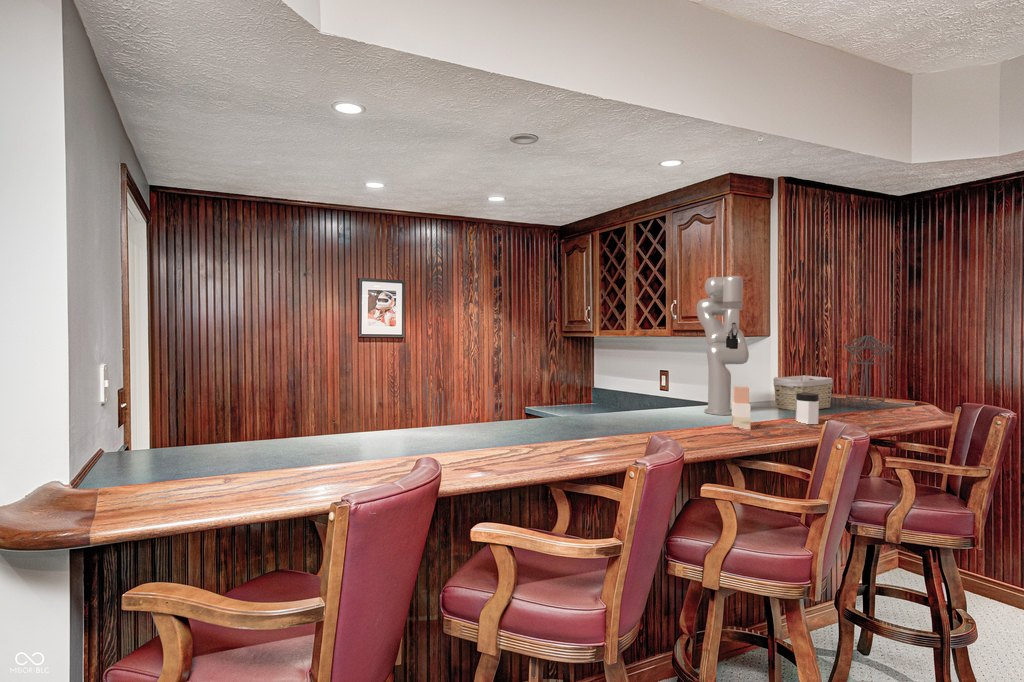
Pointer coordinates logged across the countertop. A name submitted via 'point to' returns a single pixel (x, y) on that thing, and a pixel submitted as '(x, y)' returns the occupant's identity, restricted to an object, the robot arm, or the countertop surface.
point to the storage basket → (801, 390)
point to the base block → (741, 422)
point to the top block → (741, 395)
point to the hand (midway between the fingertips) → (731, 348)
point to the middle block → (741, 410)
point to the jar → (807, 408)
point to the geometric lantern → (866, 368)
